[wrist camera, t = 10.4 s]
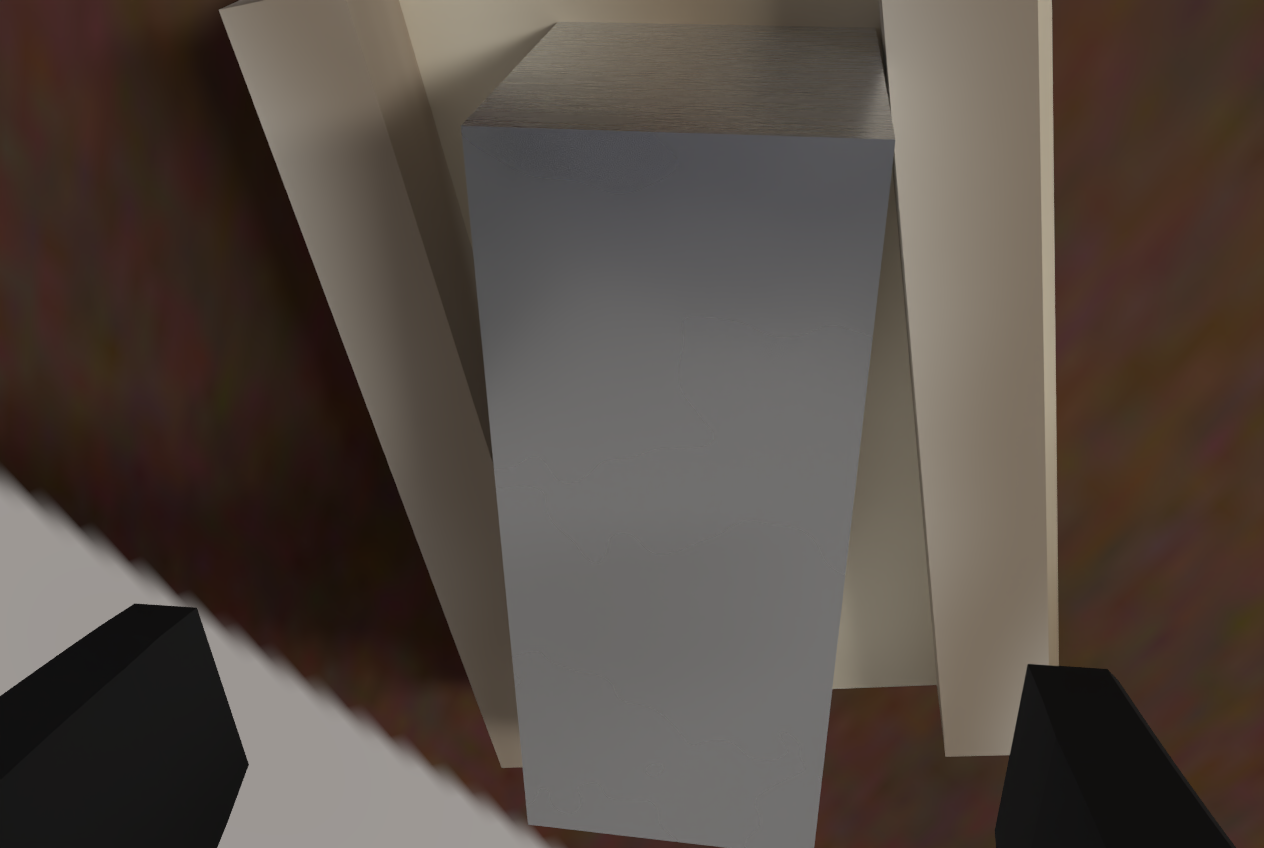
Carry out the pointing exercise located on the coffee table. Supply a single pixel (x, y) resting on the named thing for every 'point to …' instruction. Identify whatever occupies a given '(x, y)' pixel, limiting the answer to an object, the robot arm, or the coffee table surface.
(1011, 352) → the cradle
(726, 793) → the grey rectangular block
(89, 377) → the coffee table surface
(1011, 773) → the robot arm
